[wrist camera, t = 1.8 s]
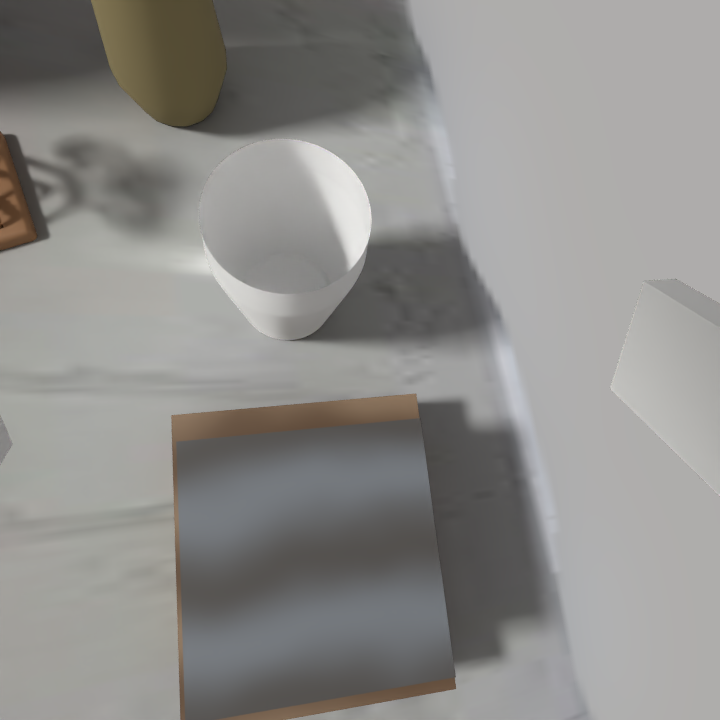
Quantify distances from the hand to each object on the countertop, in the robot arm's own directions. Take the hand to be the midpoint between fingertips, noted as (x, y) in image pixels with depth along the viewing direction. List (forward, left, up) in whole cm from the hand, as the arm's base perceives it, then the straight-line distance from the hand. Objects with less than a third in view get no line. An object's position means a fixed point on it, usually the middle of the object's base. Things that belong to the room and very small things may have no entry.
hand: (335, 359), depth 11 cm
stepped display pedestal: (+6, 0, -26) cm, 27 cm away
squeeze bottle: (-28, -7, -26) cm, 39 cm away
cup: (-11, 0, -26) cm, 28 cm away
